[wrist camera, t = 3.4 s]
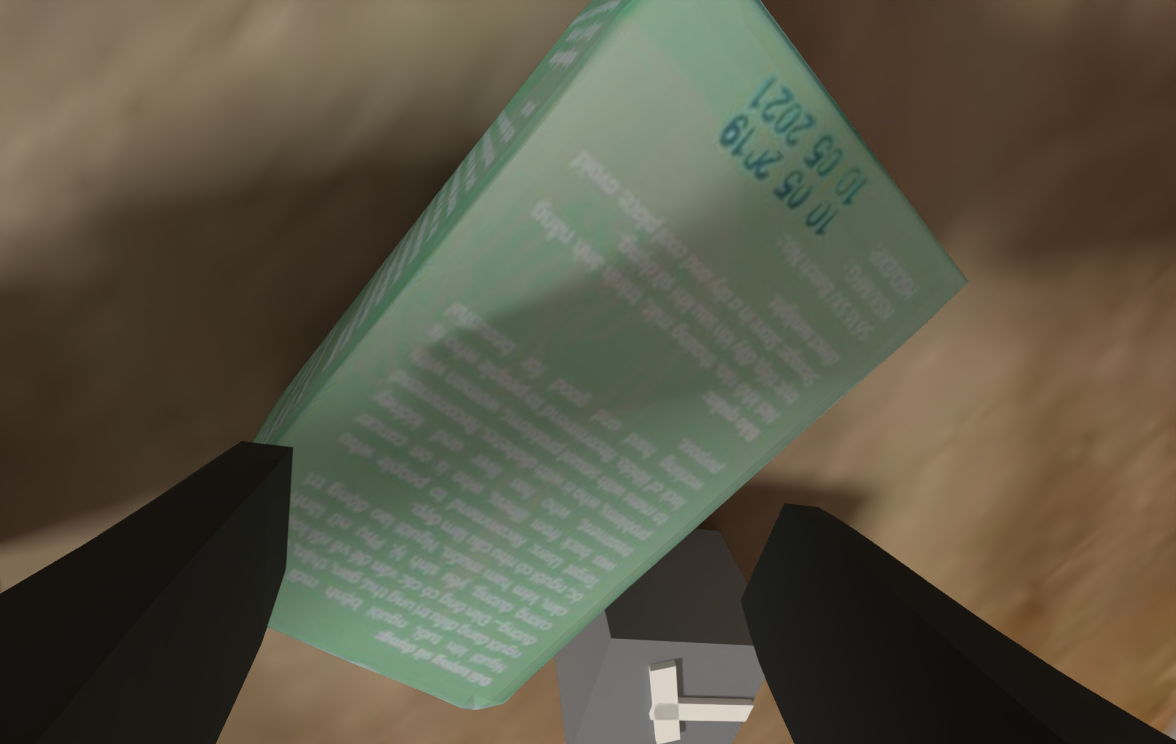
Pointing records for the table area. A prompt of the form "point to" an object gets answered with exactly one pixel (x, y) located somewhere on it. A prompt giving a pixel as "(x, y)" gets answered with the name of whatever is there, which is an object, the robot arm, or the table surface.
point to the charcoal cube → (665, 655)
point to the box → (589, 345)
